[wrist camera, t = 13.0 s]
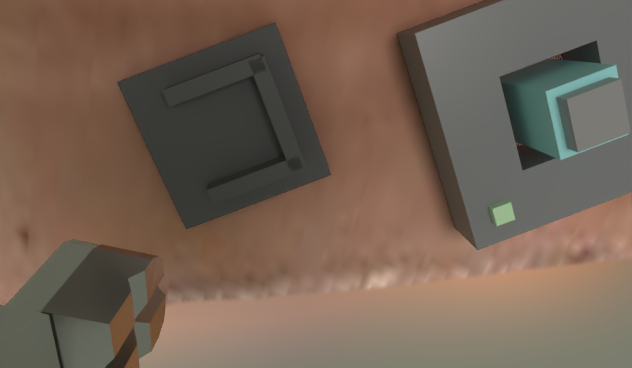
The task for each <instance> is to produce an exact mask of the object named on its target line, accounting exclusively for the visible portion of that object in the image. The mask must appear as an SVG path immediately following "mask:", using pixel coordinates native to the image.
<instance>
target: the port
mask: <svg viewBox="0 0 632 368" xmlns="http://www.w3.org/2000/svg"><path fill="white" fill-rule="evenodd" d="M397 35H398V39H399V42H400V45H401V49H402V52H403V55H404V59H405V62H406V65H407V69H408V72H409V75H410V79H411V82H412V85H413V89H414V92H415V95H416V99H417V102H418V105H419V109H420V112H421V115H422V119H423V122H424V125H425V129H426V132H427V135H428V139H429V142H430V145H431V149H432V152H433V155H434V159H435V162H436V165H437V169H438V172H439V176H440V179H441V182H442V186H443V189H444V192H445V196H446V199H447V202H448V206H449V209H450V212H451V216H452V219H453V222H454V226H455V228H456V229H457V230H458V231H459V232H460V233H461V234H462V235H463V236H464V237H465V238H466V239H467V240H468V241H469V242H470V243H471V244H472V245H473V246H474V247H475V248H476V249H477V250H479V249H482V248H485V247H487V246H490V245H493V244H495V243H498V242H500V241H503V240H506V239H508V238H511V237H514V236H516V235H519V234H522V233H524V232H527V231H530V230H532V229H535V228H538V227H540V226H543V225H546V224H548V223H551V222H553V221H556V220H559V219H561V218H564V217H567V216H569V215H572V214H575V213H577V212H580V211H583V210H585V209H588V208H591V207H593V206H596V205H599V204H601V203H604V202H607V201H609V200H612V199H614V198H617V197H620V196H622V195H625V194H628V193H630V192H632V0H484V1H482V2H479V3H476V4H474V5H471V6H468V7H466V8H463V9H460V10H458V11H455V12H452V13H450V14H447V15H444V16H442V17H439V18H437V19H434V20H431V21H429V22H426V23H423V24H421V25H418V26H415V27H413V28H410V29H407V30H405V31H402V32H399V33H397ZM561 53H562V55H563V60H570V61H581V62H592V63H602V64H613V65H616V67H617V72H618V78H620V79H621V80H622V86H623V91H624V97H625V103H626V108H627V114H628V119H629V125H630V131H631V133H628V135H626V136H623V137H621V138H618V139H615V140H613V141H610V142H607V143H605V144H602V145H599V146H597V147H594V148H591V149H589V150H586V151H584V152H581V153H578V154H576V155H573V156H570V157H568V158H565V159H562V160H559V159H557V158H555V157H552V156H550V155H547V154H545V153H543V152H540V151H538V150H536V149H533V148H531V147H529V146H526V145H523V146H520V147H518V148H517V146H516V142H515V138H514V134H513V130H512V126H511V122H510V118H509V114H508V110H507V106H506V102H505V98H504V93H503V89H502V85H501V81H500V76H503V75H506V74H508V73H511V72H514V71H516V70H519V69H522V68H524V67H527V66H530V65H532V64H535V63H538V62H540V61H543V60H546V59H548V58H551V57H553V56H556V55H559V54H561Z"/></svg>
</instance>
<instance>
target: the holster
mask: <svg viewBox="0 0 632 368" xmlns="http://www.w3.org/2000/svg"><path fill="white" fill-rule="evenodd" d="M117 83H118V85H119V87H120V89H121V91H122V93H123V95H124V98H125V100H126V102H127V104H128V106H129V108H130V110H131V112H132V115H133V117H134V119H135V121H136V123H137V125H138V127H139V129H140V132H141V134H142V136H143V138H144V140H145V142H146V144H147V147H148V149H149V151H150V153H151V155H152V157H153V159H154V161H155V164H156V166H157V168H158V170H159V172H160V174H161V176H162V178H163V181H164V183H165V185H166V187H167V189H168V191H169V193H170V195H171V198H172V200H173V202H174V204H175V206H176V208H177V210H178V213H179V215H180V217H181V219H182V221H183V223H184V225H185V227H186V229H188V228H191V227H194V226H196V225H199V224H202V223H204V222H207V221H210V220H212V219H215V218H217V217H220V216H223V215H225V214H228V213H231V212H233V211H236V210H239V209H241V208H244V207H247V206H249V205H252V204H255V203H257V202H260V201H263V200H265V199H268V198H271V197H273V196H276V195H278V194H281V193H284V192H286V191H289V190H292V189H294V188H297V187H300V186H302V185H305V184H308V183H310V182H313V181H316V180H318V179H321V178H324V177H326V176H329V175H331V173H330V170H329V168H328V165H327V162H326V159H325V157H324V154H323V151H322V148H321V146H320V143H319V140H318V137H317V135H316V132H315V129H314V127H313V124H312V121H311V118H310V116H309V113H308V110H307V107H306V105H305V102H304V99H303V96H302V94H301V91H300V88H299V85H298V83H297V80H296V77H295V75H294V72H293V69H292V66H291V64H290V61H289V58H288V55H287V53H286V50H285V47H284V44H283V42H282V39H281V36H280V33H279V31H278V28H277V25H276V23H273V24H270V25H268V26H265V27H262V28H260V29H257V30H254V31H252V32H249V33H246V34H244V35H241V36H238V37H236V38H233V39H230V40H228V41H225V42H222V43H220V44H217V45H214V46H212V47H209V48H207V49H204V50H201V51H199V52H196V53H193V54H191V55H188V56H185V57H183V58H180V59H177V60H175V61H172V62H169V63H167V64H164V65H161V66H159V67H156V68H153V69H151V70H148V71H145V72H143V73H140V74H138V75H135V76H132V77H130V78H127V79H124V80H122V81H119V82H117Z"/></svg>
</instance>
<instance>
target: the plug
mask: <svg viewBox="0 0 632 368" xmlns="http://www.w3.org/2000/svg"><path fill="white" fill-rule="evenodd" d="M500 81H501V85H502V89H503V93H504V98H505V102H506V106H507V110H508V114H509V118H510V122H511V126H512V130H513V134H514V138H515V141H517V142H519V143H522V144H524V145H526V146H529V147H531V148H533V149H536V150H538V151H540V152H543V153H545V154H547V155H550V156H552V157H555V158H557V159H559V160H562V159H565V158H568V157H570V156H573V155H576V154H578V153H581V152H584V151H586V150H589V149H591V148H594V147H597V146H599V145H602V144H605V143H607V142H610V141H613V140H615V139H618V138H621V137H623V136H626V135H628V133H631V131H630V125H629V119H628V114H627V108H626V103H625V97H624V91H623V86H622V80H621V79H620V78H618V72H617V67H616V65H613V64H602V63H592V62H581V61H570V60H559V59H546V60H543V61H540V62H538V63H535V64H532V65H530V66H527V67H524V68H522V69H519V70H516V71H514V72H511V73H508V74H506V75H503V76H500Z"/></svg>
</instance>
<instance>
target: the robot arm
mask: <svg viewBox="0 0 632 368" xmlns="http://www.w3.org/2000/svg"><path fill="white" fill-rule="evenodd" d="M163 276H164V273H163V263H162V259H161V258H159V257H158V256H155V255H150V254H145V253H140V252H135V251H130V250H125V249H121V248H116V247H111V246H106V245H97V244H93V243H88V242H83V241H78V240H74V239H72V240H69V241H67V242H64V243H63V244H62V245H61V246H60V247H59V248H58V249H57V250H56V251H55V252H54V253H53V255H52V256H51V257H50V258H49V259H48V260H47V261H46V262H45V263H44V264H43V265H42V266H41V267H40V269H39V270H38V271H37V272H36V273H35V274H34V275H33V276H32V277H31V278H30V279H29V280H28V281H27V283H26V284H25V285H24V286H23V287H22V288H21V289H20V290H19V291H18V292H17V293H16V294H15V296H14V297H13V298H12V299H11V300H10V301H9V302H8V303H7V304H6V305H5V306H1V305H0V368H139V358H141V357H143V356H144V355H146V354H147V353H149V352H151V351H152V349H153V347H154V345H155V343H156V341H157V339H158V337H159V334H160V331H161V328H162V324H163V321H164V315H165V295H164V294H163V293H162V291H161V290H160V289H159V288H158V284H159V283H160V281H161V279H162V277H163Z"/></svg>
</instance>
